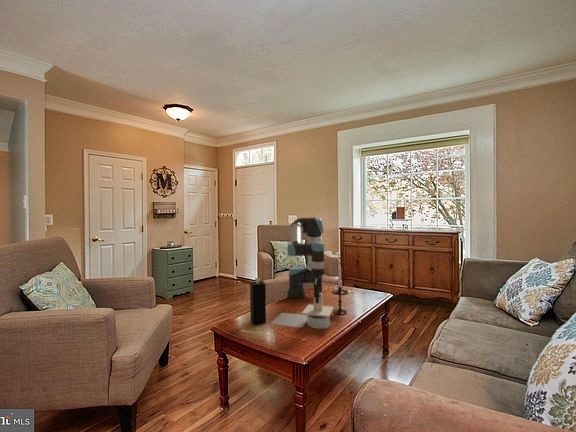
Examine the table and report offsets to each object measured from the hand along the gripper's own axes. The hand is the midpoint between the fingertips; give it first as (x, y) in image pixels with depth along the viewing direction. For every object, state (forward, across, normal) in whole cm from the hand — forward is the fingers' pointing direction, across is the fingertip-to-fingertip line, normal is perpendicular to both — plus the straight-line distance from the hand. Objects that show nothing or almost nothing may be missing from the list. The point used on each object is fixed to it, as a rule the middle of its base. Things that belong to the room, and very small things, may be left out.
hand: (318, 307), depth 177 cm
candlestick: (+11, -25, +9) cm, 29 cm away
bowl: (+11, 0, 0) cm, 11 cm away
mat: (+11, -2, -18) cm, 21 cm away
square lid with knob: (+2, 0, 0) cm, 2 cm away
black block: (+11, +8, -36) cm, 39 cm away
